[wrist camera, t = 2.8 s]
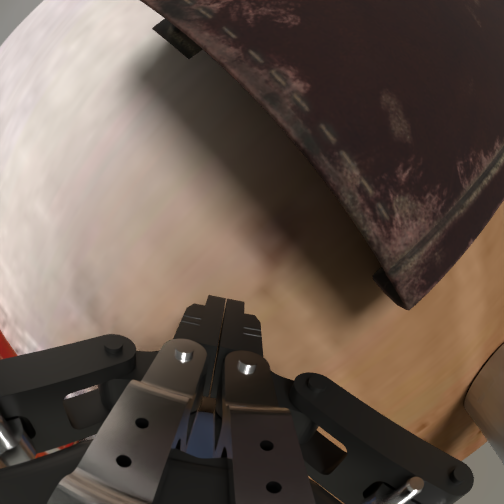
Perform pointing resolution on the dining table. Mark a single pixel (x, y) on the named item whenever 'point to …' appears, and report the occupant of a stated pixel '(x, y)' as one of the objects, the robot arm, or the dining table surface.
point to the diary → (375, 111)
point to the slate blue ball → (202, 436)
